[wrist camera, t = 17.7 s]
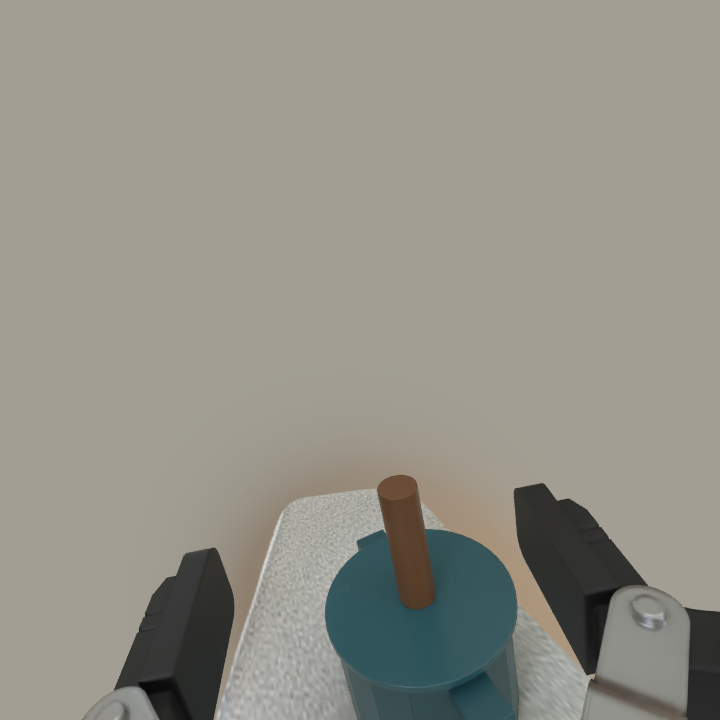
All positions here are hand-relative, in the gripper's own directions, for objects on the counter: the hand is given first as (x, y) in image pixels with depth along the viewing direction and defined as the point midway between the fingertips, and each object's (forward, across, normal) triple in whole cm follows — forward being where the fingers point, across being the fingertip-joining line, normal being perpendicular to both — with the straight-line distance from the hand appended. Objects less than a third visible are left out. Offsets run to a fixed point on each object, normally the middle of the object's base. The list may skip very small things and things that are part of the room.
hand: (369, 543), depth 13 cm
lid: (+14, -2, +18) cm, 22 cm away
